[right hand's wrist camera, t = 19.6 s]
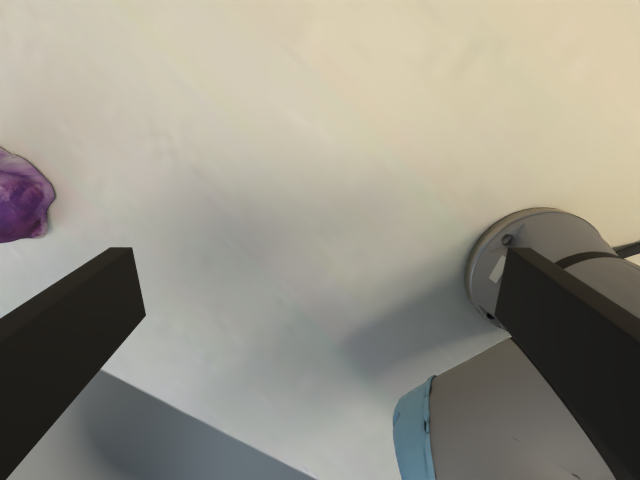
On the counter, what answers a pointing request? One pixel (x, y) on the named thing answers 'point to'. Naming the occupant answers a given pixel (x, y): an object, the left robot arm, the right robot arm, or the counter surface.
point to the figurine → (22, 199)
